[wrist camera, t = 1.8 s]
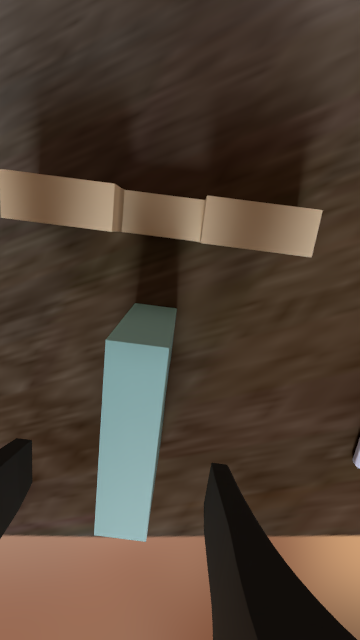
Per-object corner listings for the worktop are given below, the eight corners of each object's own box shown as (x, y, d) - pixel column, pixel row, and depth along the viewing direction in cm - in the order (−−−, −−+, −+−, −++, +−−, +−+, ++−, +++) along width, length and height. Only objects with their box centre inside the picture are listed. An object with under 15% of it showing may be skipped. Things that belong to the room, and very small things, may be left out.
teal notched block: (176, 308, 18) (169, 347, 12) (159, 449, 21) (145, 541, 15) (135, 303, 18) (105, 340, 12) (123, 445, 21) (94, 535, 15)
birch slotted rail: (296, 214, 17) (322, 210, 13) (288, 252, 17) (311, 257, 14) (38, 181, 17) (-1, 168, 13) (38, 220, 17) (0, 217, 14)
